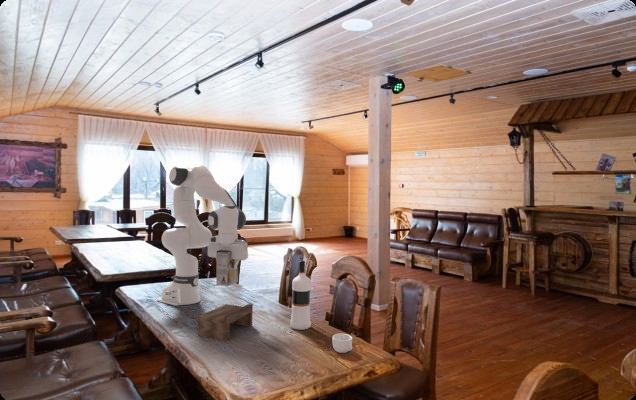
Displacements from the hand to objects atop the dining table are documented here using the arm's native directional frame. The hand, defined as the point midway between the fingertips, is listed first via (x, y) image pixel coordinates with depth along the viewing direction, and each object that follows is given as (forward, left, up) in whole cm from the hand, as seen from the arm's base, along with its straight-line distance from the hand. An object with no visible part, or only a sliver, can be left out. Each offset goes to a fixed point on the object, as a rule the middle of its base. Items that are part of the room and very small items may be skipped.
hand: (227, 268), depth 197 cm
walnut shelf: (+9, -15, -24) cm, 29 cm away
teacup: (+62, -15, -24) cm, 68 cm away
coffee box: (0, 0, -8) cm, 8 cm away
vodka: (+36, +3, -24) cm, 44 cm away
